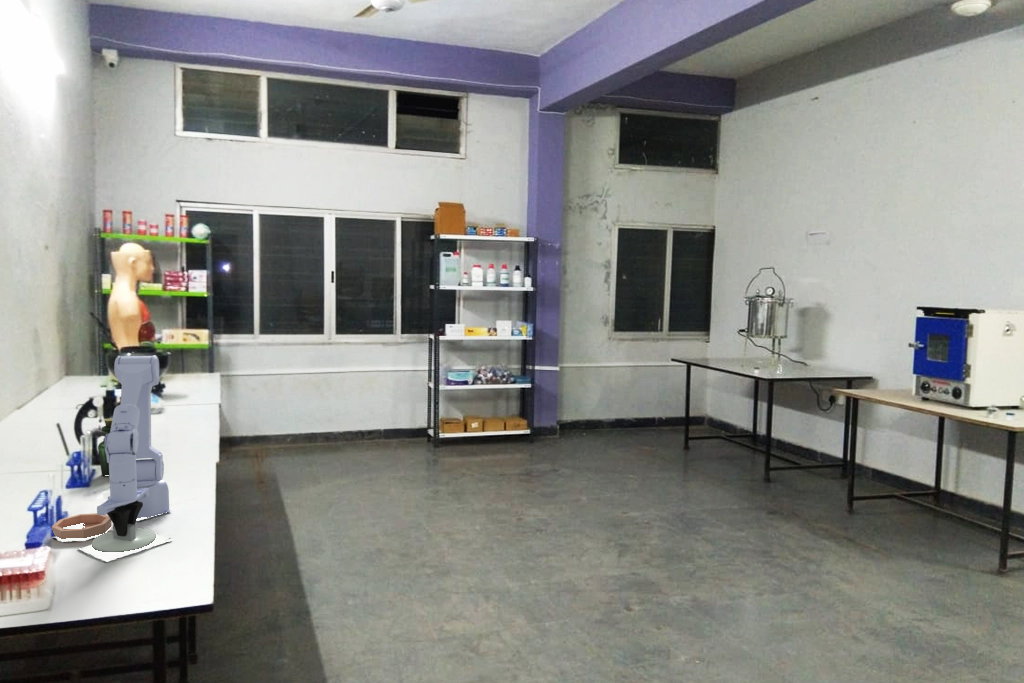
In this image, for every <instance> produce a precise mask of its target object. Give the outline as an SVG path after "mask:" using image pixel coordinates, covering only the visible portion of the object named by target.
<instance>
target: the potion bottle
mask: <svg viewBox="0 0 1024 683" xmlns="http://www.w3.org/2000/svg"><path fill="white" fill-rule="evenodd" d="M112 419H113V417H112V418H111V417H110V418H105V419H104V424H105V425H103V426H102V427H101V430H100V431H101V432H103V433H104V435H106V434H109V433H110V430H111V425H112ZM97 450H98V458H99V464H100V471H101V476H103V475H109V463H107V456H106V452H105V439H103V441H101V442H99V444H98V445H97Z"/></svg>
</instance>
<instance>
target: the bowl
mask: <svg viewBox="0 0 1024 683" xmlns="http://www.w3.org/2000/svg"><path fill="white" fill-rule="evenodd" d="M80 523H84V524H85V525H84V524H83V526H85V528H84V527H83V528H82V529H63V527H67V526H71V525H76V524H80ZM111 526H112V527H113V522H112V520H111V519H110V517H109V516H108V515H107V514H106V515H97V512H95V513H79V514H76V515H72V516H68V517H65V518H61V519H59V520H57V521H56V522H55V523H54V524H53V525H52V526H51V531H52V530H53V533H54V535H55V536H57V537H59V538H61V539H66V538H87V537H91V536H95V535H99V534H103V533H105V532H106V531H107V530H108V529H109V528H110V527H111Z"/></svg>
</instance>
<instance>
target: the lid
mask: <svg viewBox="0 0 1024 683" xmlns="http://www.w3.org/2000/svg"><path fill="white" fill-rule="evenodd" d="M155 533H156V532H155V531H154V530H151V529H149V528H144V527H141V528H140V527H136V524H135V525H133V524H127V535H126V536H124V537H123V536H118V535H117V532H116V529H115V527H114V524H113V523H112V530H110V531H109V532H107V533H104V534H102V535H100V536H98V537H96V538H95V539H92V542H91V544H92V547H93V548H94V549H95V550H98V551H102V552H124V551H130V550H135V549H139V548H142V547H144V546H147V545H149V544H150V543H152V542H153V541H154V540H155V538H156V534H155Z"/></svg>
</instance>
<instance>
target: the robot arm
mask: <svg viewBox="0 0 1024 683" xmlns="http://www.w3.org/2000/svg"><path fill="white" fill-rule="evenodd" d="M113 367H114V370H113V371H114V375H115V378H116V379H117V382H118V383H119V384H121V389H120V404H119V405H117V406H115V408H114V410H113V416H112V418H113V419H112V425H111V430H110V433H109V434H105V437H104V440H105V452H106V456H107V463H109V476H110V477H109V496H107V500H106V501H104V502H102V503H101V504H100V505H97V506H96V513H97V515H108V516H109V517H110V519H111V523H112V525H113V524H114V527H115V529H116V532H117V535H118V536H123V537H124V536H126V535H127V524H133V525H135V526H136V523H137V521H136V519H137V518H141V517H147V518H148V517H151V516H155V515H158V514H162V513H166V512H169V513H171V512H172V510H170V494H169V493H170V492H169V485H168V483H167V482H166V480H164V479H163V478H164V474H165V464H164V461H163V460H164V459H163V454H162V452H161V451H160V450H158V449H157V448H155V447H153V446H152V415H151V414H152V412H151V411H152V410H151V408H152V405H151V404H152V401H151V399H152V398H151V397H152V396H151V395H152V390H153V387H155V386H158V385H159V382H160V360H159V357H158V356H157V355H156V354H155V355H154V354H153V355H130V356H129V355H128V356H122V355H117V357H116V358H115V360H114V366H113ZM170 511H171V512H170ZM166 514H167V513H166Z"/></svg>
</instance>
